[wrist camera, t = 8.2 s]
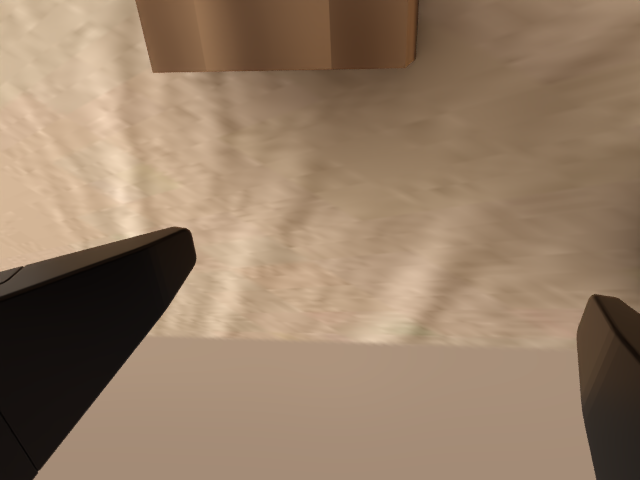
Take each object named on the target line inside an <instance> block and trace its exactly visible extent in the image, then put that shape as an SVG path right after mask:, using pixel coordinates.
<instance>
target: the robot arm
mask: <svg viewBox="0 0 640 480" xmlns="http://www.w3.org/2000/svg"><path fill="white" fill-rule="evenodd" d="M195 263H196V252H195V247H194V243H193V238H192V234H191V232H190V230H188V229H187V228H181V227H170V228H166V229H162V230H158V231H155V232H151V233H147V234H143V235H139V236H136V237H132V238H128V239H124V240H120V241H116V242H113V243H109V244H105V245H101V246H97V247H94V248H90V249H86V250H82V251H78V252H75V253H71V254H67V255H63V256H59V257H55V258H52V259H48V260H44V261H40V262H36V263H33V264H29V265H26V266H25V267H23V266H21V267H17V268H13V269H9V270H6V271H2V272H0V480H33V479H34V478H35V476H36V475H37V474H38V471H39V470H40V469H41V468H42V467H43V466H44V464H45V463H46V462H47V461H48V459H49V458H50V457H51V455H52V454H53V453H54V452H55V450H56V449H57V448H58V446H59V445H60V444H61V443H62V442H63V440H64V439H65V438H66V436H67V435H68V434H69V433H70V431H71V430H72V429H73V428H74V426H75V425H76V424H77V423H78V421H79V420H80V419H81V417H82V416H83V415H84V414H85V412H86V411H87V410H88V408H89V407H90V406H91V405H92V403H93V402H94V401H95V400H96V398H97V397H98V396H99V395H100V393H101V392H102V391H103V389H104V388H105V387H106V386H107V384H108V383H109V382H110V381H111V379H112V378H113V377H114V376H115V374H116V373H117V371H118V370H119V369H120V368H121V367H122V365H123V364H124V363H125V362H126V360H127V359H128V358H129V357H130V355H131V354H132V353H133V351H134V350H135V349H136V348H137V346H138V345H139V344H140V343H141V341H142V340H143V339H144V338H145V336H146V335H147V334H148V332H149V331H150V330H151V329H152V327H153V326H154V325H155V324H156V322H157V321H158V320H159V318H160V317H161V316H162V315H163V313H164V312H165V311H166V309H167V308H168V306H169V305H170V303H171V302H172V300H173V298H174V297H175V295H176V294H177V292H178V291H179V289H180V288H181V286H182V284H183V283H184V281H185V280H186V278H187V277H188V275H189V273H190V272H191V270H192V269H193V267H194V265H195ZM577 351H578V363H579V364H578V365H579V377H580V391H581V404H582V412H583V418H584V423H585V428H586V433H587V438H588V442H589V446H590V451H591V456H592V461H593V466H594V471H595V475H596V480H640V314H639V313H638V312H636V311H635V310H634V309H632V308H631V307H630V306H628V305H627V304H626V303H624V302H623V301H622V300H620V299H619V298H616V297H610V296H604V295H598V294H594V295H592V296H591V297H590V298H589V300H588V302H587V305H586V307H585V310H584V313H583V316H582V318H581V321H580V324H579V327H578V330H577Z"/></svg>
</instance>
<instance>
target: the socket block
mask: <svg viewBox="0 0 640 480" xmlns="http://www.w3.org/2000/svg"><path fill="white" fill-rule="evenodd" d="M136 5H137V9H138V13H139V17H140V21H141V25H142V29H143V34H144V38H145V42H146V46H147V50H148V54H149V58H150V62H151V67H152V71H153V73H164V72H216V71H268V70H320V69H372V68H406V67H407V66H408V65H409V64H410V63H411V62H413V61H414V60H415V59H416V42H417V23H418V5H419V0H136Z"/></svg>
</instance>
